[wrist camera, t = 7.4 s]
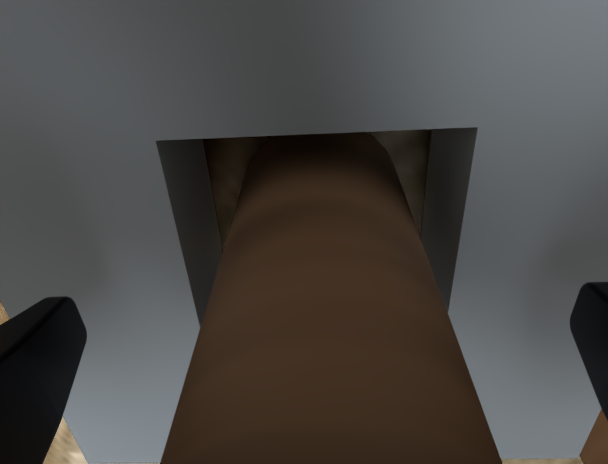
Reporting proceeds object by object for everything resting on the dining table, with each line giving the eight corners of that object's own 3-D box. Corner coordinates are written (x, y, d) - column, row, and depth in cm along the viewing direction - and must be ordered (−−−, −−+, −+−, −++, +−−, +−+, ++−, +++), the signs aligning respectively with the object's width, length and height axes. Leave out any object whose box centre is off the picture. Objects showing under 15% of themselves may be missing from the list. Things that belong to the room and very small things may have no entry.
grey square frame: (533, 372, 15) (578, 458, 13) (124, 380, 16) (88, 463, 13) (716, -187, 8) (916, -252, 5) (-77, -131, 8) (-252, -166, 6)
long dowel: (394, 255, 13) (484, 607, 6) (253, 259, 13) (186, 607, 6) (403, 116, 11) (562, 419, 4) (234, 123, 11) (99, 426, 4)
